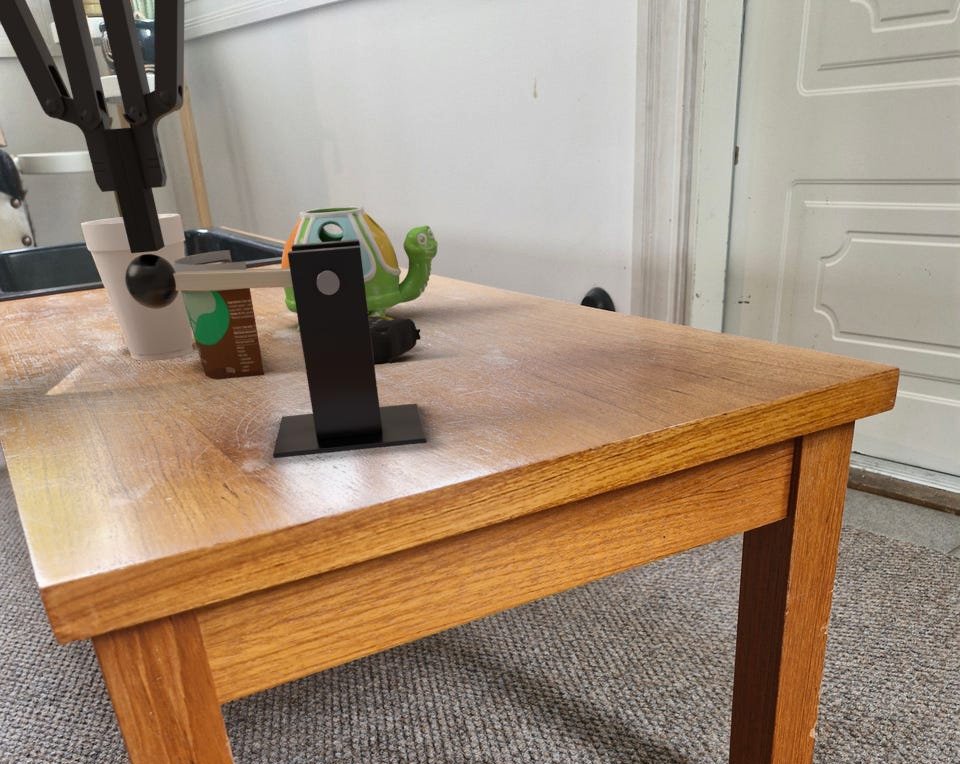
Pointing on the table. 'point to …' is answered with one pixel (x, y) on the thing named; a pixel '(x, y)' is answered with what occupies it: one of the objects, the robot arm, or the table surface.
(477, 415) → the table surface
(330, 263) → the bracket
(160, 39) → the robot arm
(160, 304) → the lever
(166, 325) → the foam cup
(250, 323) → the food container
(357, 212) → the turtle holder
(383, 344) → the tape measure
